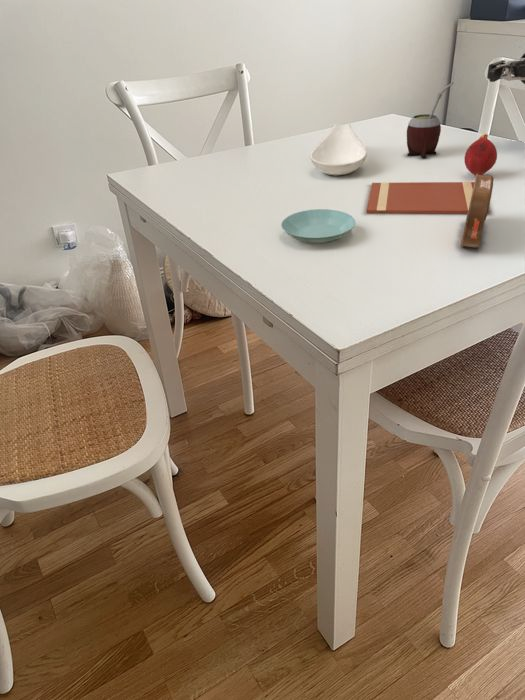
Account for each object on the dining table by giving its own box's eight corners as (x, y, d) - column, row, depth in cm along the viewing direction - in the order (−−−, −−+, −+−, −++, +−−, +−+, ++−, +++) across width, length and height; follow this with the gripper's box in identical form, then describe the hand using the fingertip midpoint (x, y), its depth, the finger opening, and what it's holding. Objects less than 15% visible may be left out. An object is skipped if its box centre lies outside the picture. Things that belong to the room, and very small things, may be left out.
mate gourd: (402, 151, 124) (407, 79, 115) (438, 149, 123) (445, 76, 114) (408, 160, 117) (414, 85, 109) (445, 158, 117) (454, 82, 108)
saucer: (369, 231, 87) (370, 218, 86) (322, 257, 81) (321, 242, 80) (315, 216, 95) (314, 204, 93) (267, 239, 88) (266, 225, 87)
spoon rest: (365, 180, 109) (366, 143, 105) (308, 181, 111) (306, 145, 107) (367, 148, 128) (368, 116, 124) (317, 150, 130) (317, 119, 126)
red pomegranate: (489, 182, 102) (496, 138, 97) (458, 179, 105) (464, 137, 100) (496, 173, 106) (503, 130, 101) (466, 171, 109) (472, 129, 104)
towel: (480, 185, 101) (480, 181, 101) (488, 214, 89) (489, 210, 89) (372, 185, 106) (372, 182, 106) (366, 213, 94) (366, 210, 94)
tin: (466, 218, 89) (473, 166, 84) (487, 219, 88) (495, 166, 83) (458, 256, 77) (466, 198, 73) (481, 258, 76) (491, 200, 72)
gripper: (512, 42, 114) (480, 54, 105) (585, 42, 106) (558, 55, 97) (506, 81, 119) (474, 96, 109) (576, 84, 110) (549, 100, 101)
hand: (514, 76), depth 103 cm, fingers open, 8 cm apart
